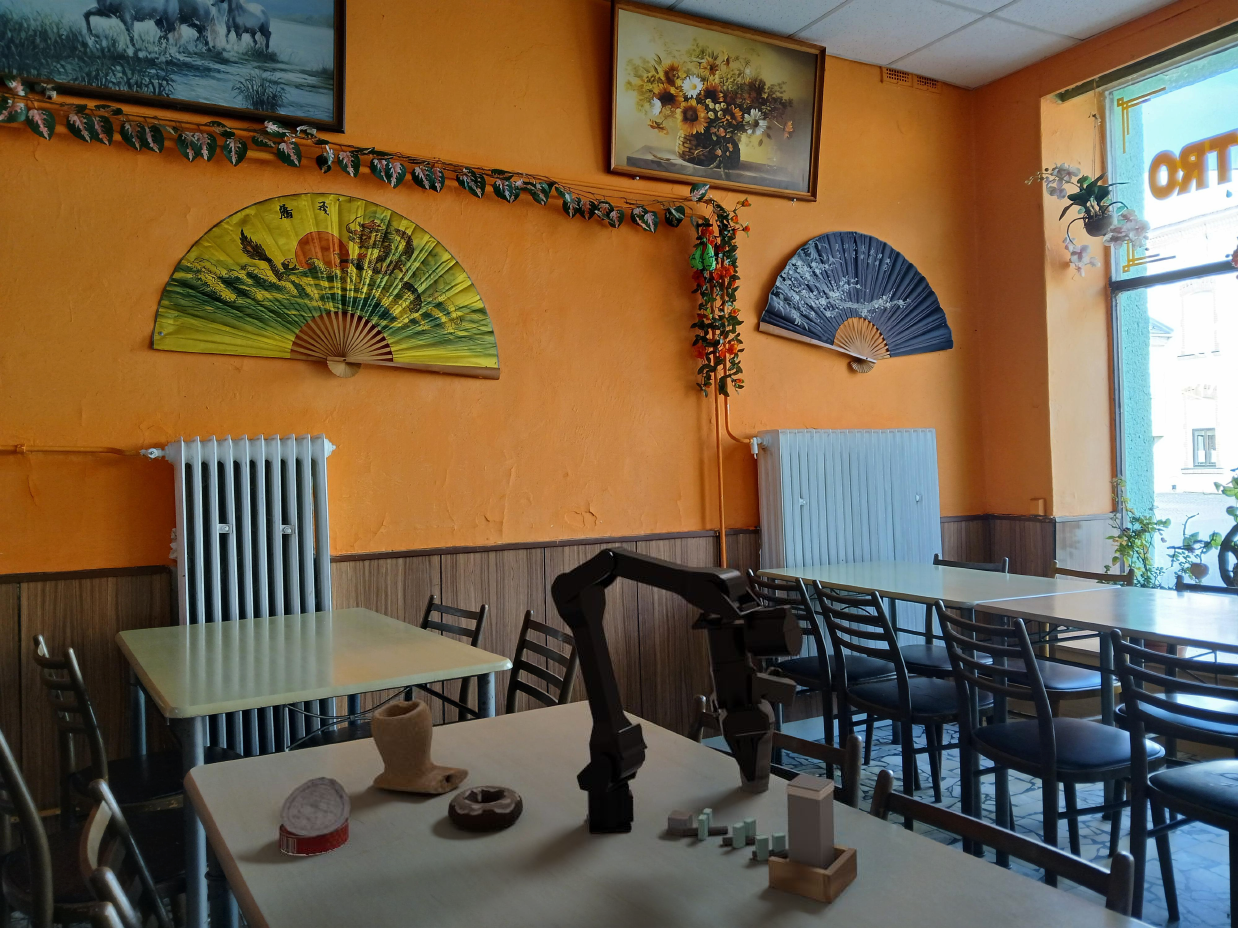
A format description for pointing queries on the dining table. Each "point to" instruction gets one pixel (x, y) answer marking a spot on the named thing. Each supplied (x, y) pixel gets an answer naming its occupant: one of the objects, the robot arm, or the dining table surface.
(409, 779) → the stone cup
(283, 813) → the canned food
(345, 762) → the dining table surface
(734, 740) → the robot arm
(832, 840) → the tall grey box
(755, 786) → the beverage cup
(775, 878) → the end holder
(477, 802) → the donut
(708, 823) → the cable clips
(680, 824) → the brown grey short block
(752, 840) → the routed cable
